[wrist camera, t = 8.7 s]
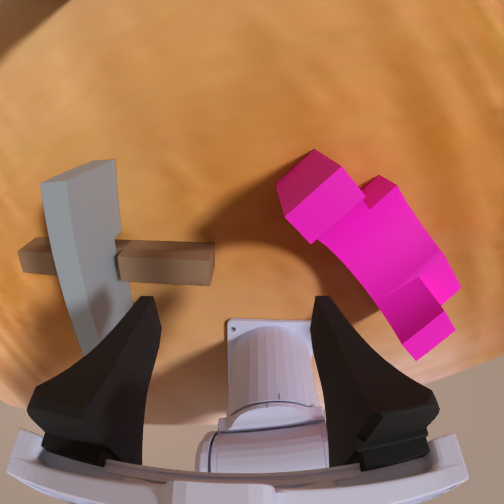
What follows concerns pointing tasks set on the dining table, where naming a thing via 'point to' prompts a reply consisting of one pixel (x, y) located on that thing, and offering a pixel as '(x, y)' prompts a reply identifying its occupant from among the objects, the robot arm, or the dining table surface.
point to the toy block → (374, 246)
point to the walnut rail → (138, 261)
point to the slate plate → (87, 248)
